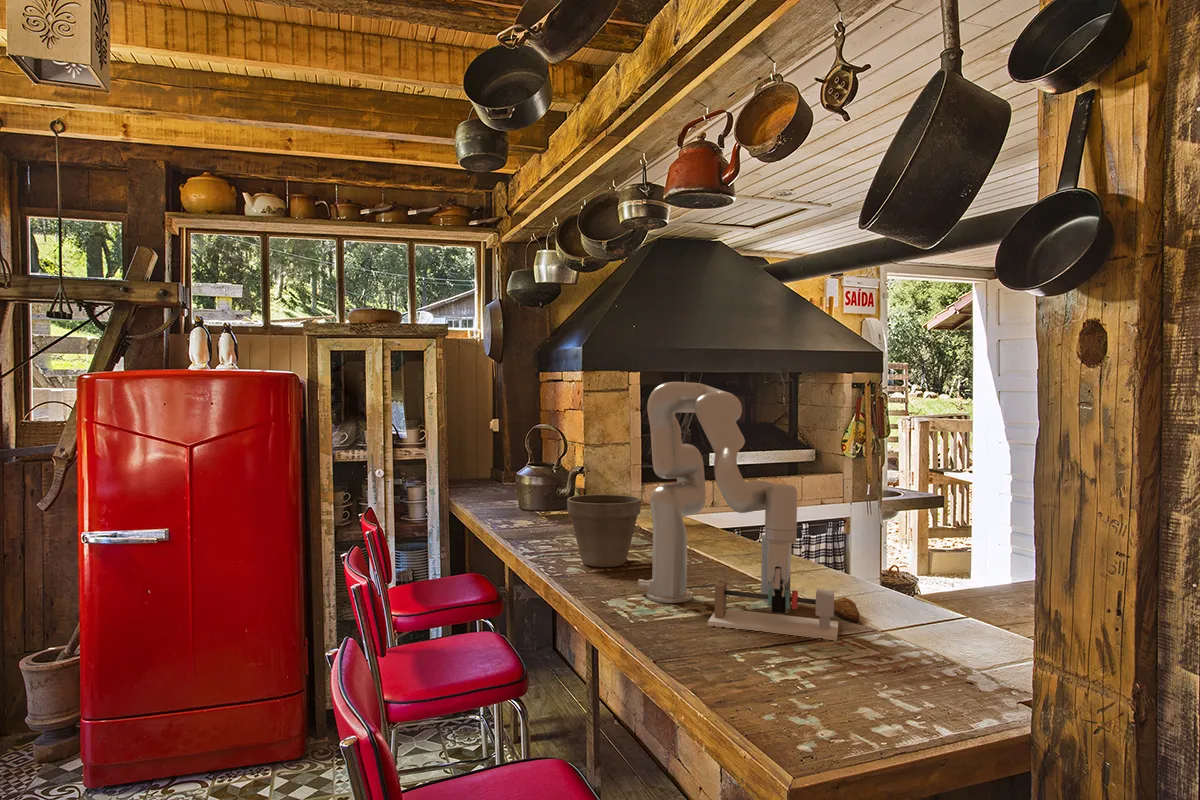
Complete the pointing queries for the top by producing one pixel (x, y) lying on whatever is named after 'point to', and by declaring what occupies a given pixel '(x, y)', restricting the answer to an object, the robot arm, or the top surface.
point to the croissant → (846, 609)
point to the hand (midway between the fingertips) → (779, 609)
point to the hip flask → (764, 584)
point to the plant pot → (604, 527)
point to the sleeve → (787, 595)
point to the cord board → (777, 622)
